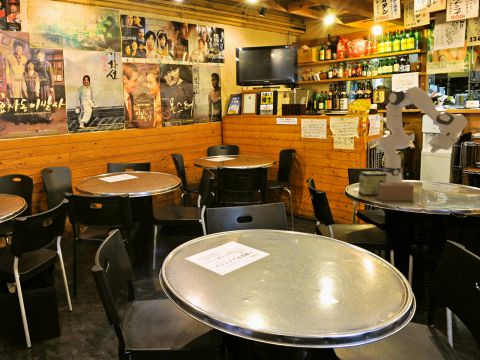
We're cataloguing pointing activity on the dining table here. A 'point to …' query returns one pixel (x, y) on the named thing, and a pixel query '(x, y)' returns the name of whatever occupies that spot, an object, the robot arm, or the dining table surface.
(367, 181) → the protein box
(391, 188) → the wooden block
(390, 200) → the mat
